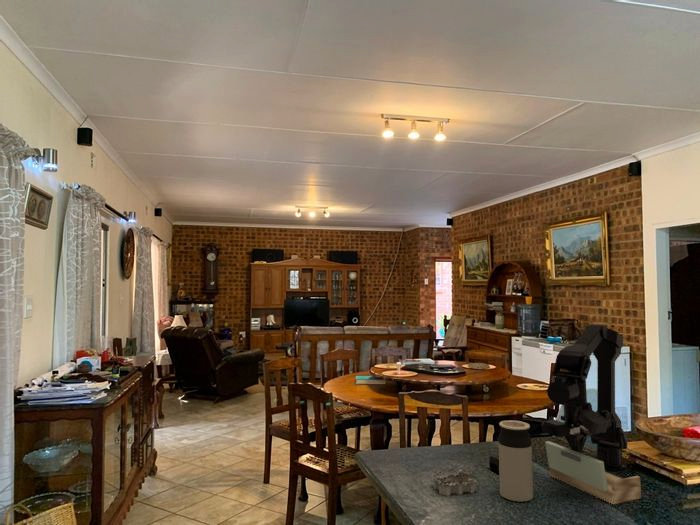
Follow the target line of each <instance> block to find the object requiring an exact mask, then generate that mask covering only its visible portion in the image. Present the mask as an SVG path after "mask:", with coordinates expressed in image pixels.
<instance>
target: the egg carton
mask: <svg viewBox="0 0 700 525" xmlns="http://www.w3.org/2000/svg"><path fill="white" fill-rule="evenodd" d="M431 480H432V481H433V489H434V490H437V491H438V493H439V495H443V496H447V497H449V496H451V494H456V495H463V494H464V493H470V494H474V493H475V491H476V490H477V484H478V481H477V479H475V478H473V477H471V474H470V473H469V471H467V468H461V469H457V470H455V471H454V472H453V473H452V472H450V473H449V474H446V475H444V474H443V475H440V476H438V477H436V476H435V477H433V476H432V477H431ZM476 483H477V484H476Z"/></svg>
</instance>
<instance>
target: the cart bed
mask: <svg viewBox="0 0 700 525" xmlns="http://www.w3.org/2000/svg"><path fill="white" fill-rule="evenodd" d="M605 474H606V480H607V486H608V490H606V491H603V490H600V489H598V488H596V487H594V486H591V485H589V484H587V483H584V482H582V481H580V480H578V479H575V478H573V477H571V476H569V475H566V474H564V473H562V472H559V471H557V470H555V469H553V468H550V467H549V476H550V477H551V476H552V477H551V478H553V477H554V479H555V478H557V479H556V480H558V479H559V480H558V481H560V480H561V481H560V482H562V481H563V482H562V483H564V482H566V483H568V484H570V485H569V486H571V485H572V486H571V487H573V486H574V487H573V488H575V487H576V488H575V489H577V488H578V489H577V490H579V489H580V490H579V491H581V490H582V492H584V491H585V492H584V493H586V492H587V493H586V494H588V493H589V495H590V494H591V495H590V496H592V495H593V497H594V496H595V497H594V498H596V499H599V498H600V499H599V500H601V499H602V500H601V501H603V500H604V501H603V502H605V501H606V502H605V503H607V502H609V503H608V504H610V503H611V504H610V505H612V504H613V505H617V504H621V503H625V502H630V501H633V500H635V501H636V500H639V499H641V498H642V490H641V489H642V488H641V486H642V485H641V476H639V475H635V476H630V477H625V478H622V477H619V476H617V475H614V474H612V473H609V472H607V471H605ZM566 483H565V484H566ZM568 484H567V485H568Z"/></svg>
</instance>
